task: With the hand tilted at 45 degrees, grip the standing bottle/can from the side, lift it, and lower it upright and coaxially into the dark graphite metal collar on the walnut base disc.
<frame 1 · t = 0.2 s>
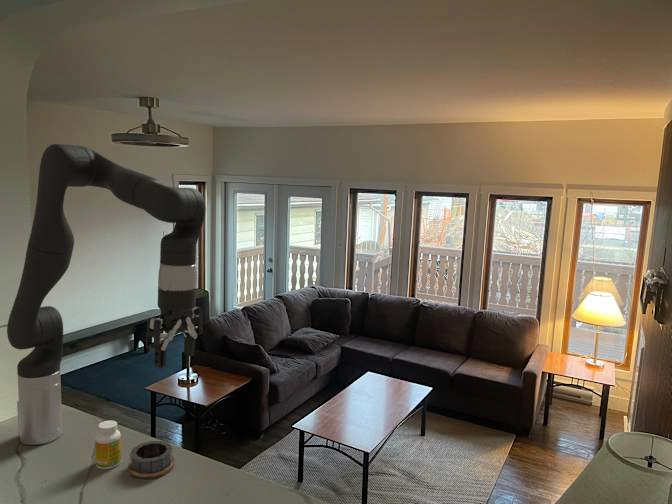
hand: (175, 361, 106), 29 cm above the kitchen counter, tool pointing down, fingers open, 8 cm apart
collar mount: (151, 466, 117), on the kitchen counter
supplement bottle: (108, 464, 118), on the kitchen counter
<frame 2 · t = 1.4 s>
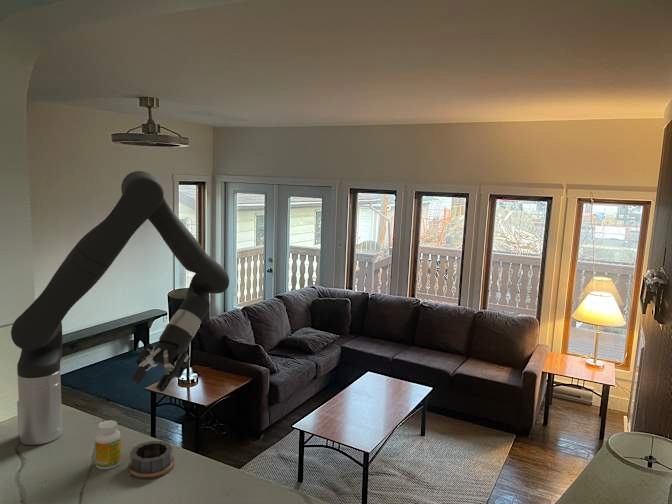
hand: (146, 386, 126), 15 cm above the kitchen counter, tool tilted 45°, fingers open, 8 cm apart
nothing on the kitchen counter moved.
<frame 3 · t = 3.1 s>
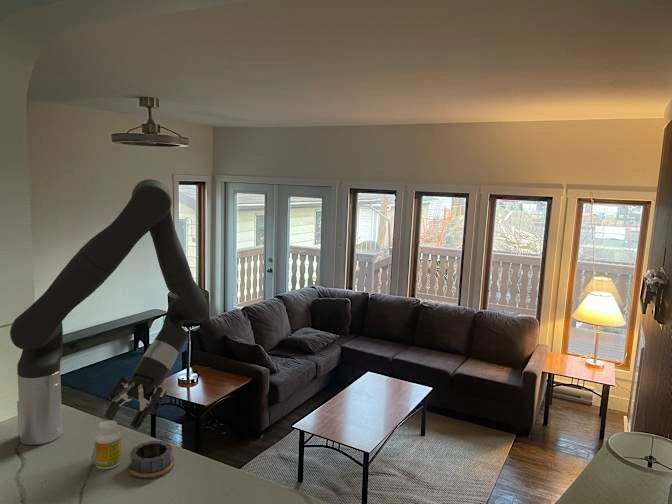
hand: (120, 423, 120), 8 cm above the kitchen counter, tool tilted 45°, fingers open, 8 cm apart
nothing on the kitchen counter moved.
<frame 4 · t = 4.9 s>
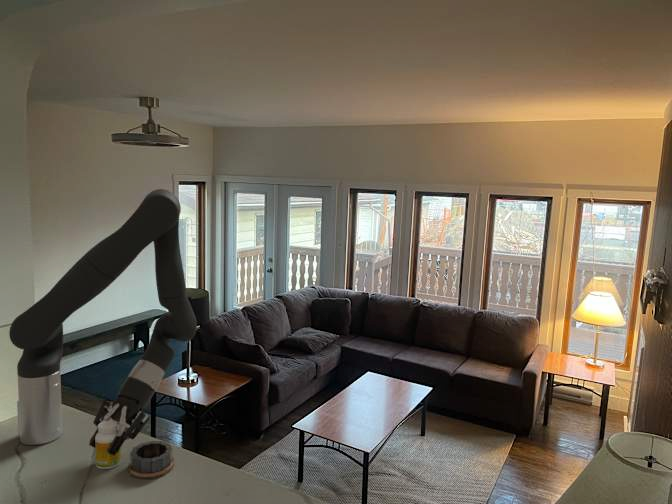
hand: (101, 449, 116), 4 cm above the kitchen counter, tool tilted 45°, fingers closed on supplement bottle, 5 cm apart
supplement bottle: (108, 464, 118), on the kitchen counter, touching gripper
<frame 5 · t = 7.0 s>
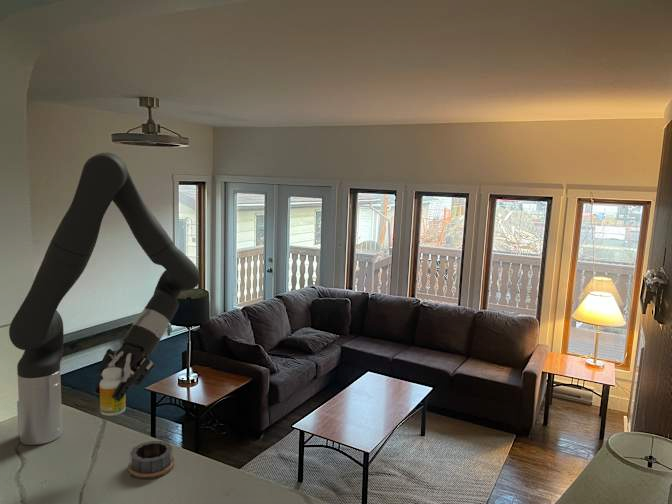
hand: (106, 396, 114), 17 cm above the kitchen counter, tool tilted 45°, fingers closed on supplement bottle, 5 cm apart
supplement bottle: (113, 411, 116), point 13 cm above the kitchen counter, touching gripper
when the fingers open (7 cm above the kitchen counter, at t = 9.5 s): supplement bottle drops 1 cm, resting on collar mount.
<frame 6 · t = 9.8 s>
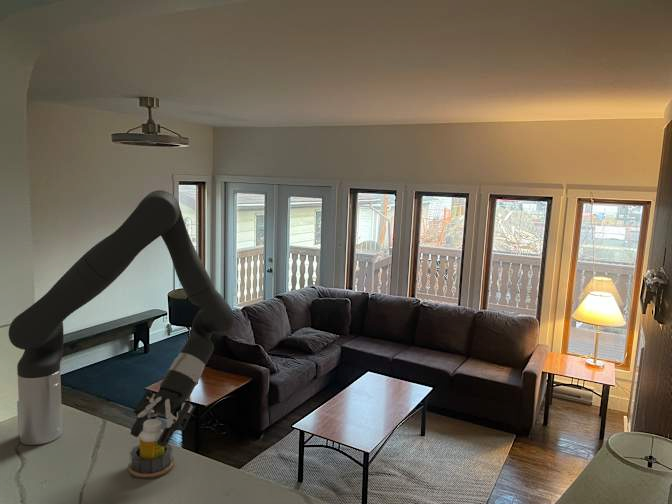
hand: (146, 440, 115), 7 cm above the kitchen counter, tool tilted 45°, fingers open, 8 cm apart
supplement bottle: (152, 463, 117), point 1 cm above the kitchen counter, touching collar mount
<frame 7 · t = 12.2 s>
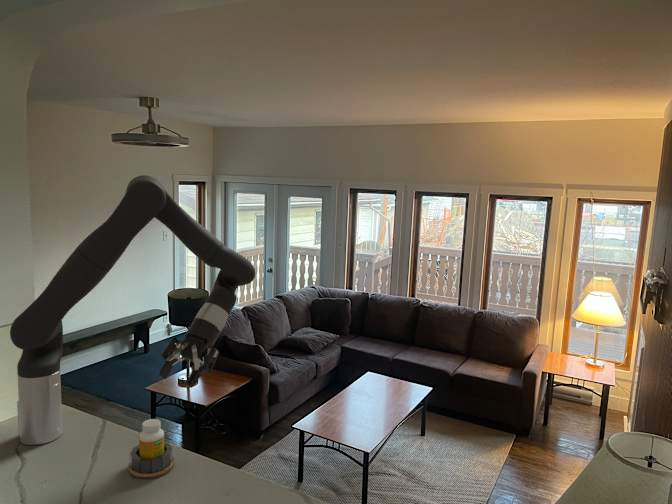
hand: (175, 381, 122), 18 cm above the kitchen counter, tool tilted 45°, fingers open, 8 cm apart
nothing on the kitchen counter moved.
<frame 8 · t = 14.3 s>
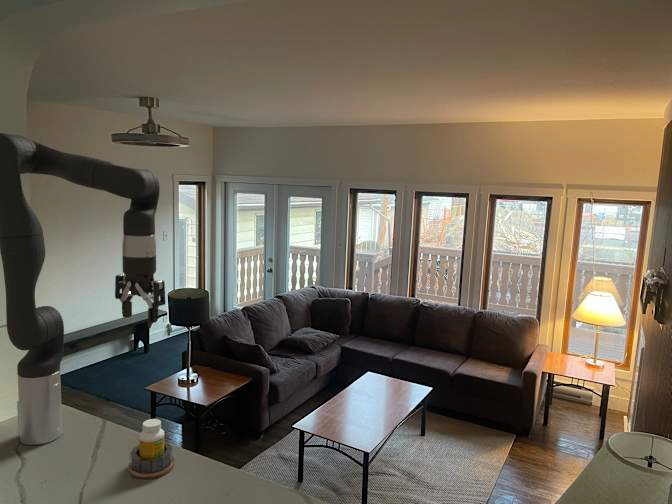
hand: (139, 319, 123), 32 cm above the kitchen counter, tool pointing down, fingers open, 8 cm apart
nothing on the kitchen counter moved.
at the end: supplement bottle 0.2 cm off-centre on the collar mount, point 0.8 cm above the collar mount's base; supplement bottle tilted 0°; the gripper is holding nothing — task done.
